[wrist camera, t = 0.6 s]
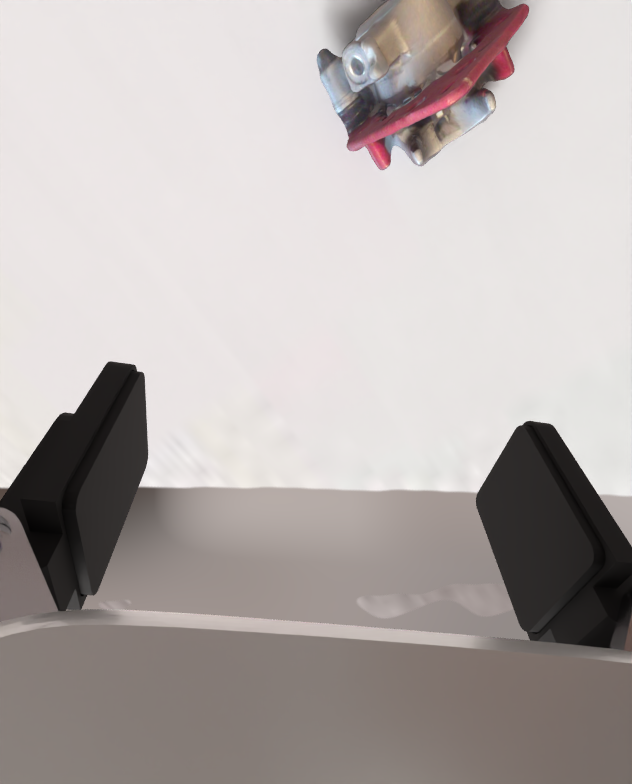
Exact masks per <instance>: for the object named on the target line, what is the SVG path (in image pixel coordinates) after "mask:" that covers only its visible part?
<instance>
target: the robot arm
mask: <svg viewBox="0 0 632 784" xmlns="http://www.w3.org/2000/svg"><path fill="white" fill-rule="evenodd" d="M147 460H148V441H147V419H146V398H145V377H144V373H143V372H137V369H136V366H135V365H132V364H125V363H118V362H108V363H107V364H106V365H105V367H104V368H103V370H102V372H101V373H100V375H99V376H98V378H97V379H96V381H95V382H94V384H93V386H92V387H91V389H90V390H89V392H88V393H87V395H86V396H85V398H84V400H83V401H82V403H81V404H80V406H79V407H78V409H77V410H76V412H75V414H72V413H62V414H60V415H59V417H58V418H57V419H56V420H55V422H54V423H53V424H52V426H51V427H50V429H49V430H48V432H47V433H46V435H45V436H44V438H43V439H42V441H41V442H40V444H39V445H38V446H37V448H36V449H35V451H34V452H33V454H32V455H31V457H30V458H29V460H28V461H27V463H26V464H25V465H24V467H23V468H22V470H21V471H20V473H19V474H18V476H17V477H16V479H15V480H14V482H13V483H12V485H11V486H10V487H9V489H8V490H7V492H6V493H5V495H4V496H3V498H2V499H1V501H0V784H632V547H631V545H630V543H629V542H628V540H627V539H626V537H625V536H624V534H623V533H622V531H621V530H620V528H619V526H618V525H617V523H616V522H615V520H614V519H613V517H612V516H611V514H610V512H609V511H608V509H607V508H606V506H605V505H604V503H603V502H602V500H601V499H600V497H599V495H598V494H597V492H596V491H595V489H594V488H593V486H592V485H591V483H590V482H589V480H588V478H587V477H586V475H585V474H584V472H583V471H582V469H581V468H580V466H579V465H578V463H577V461H576V460H575V458H574V457H573V455H572V454H571V452H570V451H569V449H568V447H567V446H566V444H565V443H564V441H563V440H562V438H561V437H560V435H559V434H558V432H557V430H556V429H555V428H554V426H553V425H551V424H547V423H540V422H533V421H527V422H525V423H524V424H523V425H522V426H518V427H517V428H516V429H515V431H514V433H513V434H512V436H511V438H510V440H509V441H508V443H507V445H506V446H505V448H504V450H503V451H502V453H501V455H500V456H499V458H498V460H497V461H496V463H495V465H494V467H493V468H492V470H491V472H490V473H489V475H488V477H487V478H486V480H485V482H484V483H483V485H482V487H481V488H480V490H479V492H478V494H477V497H476V506H477V509H478V512H479V515H480V517H481V520H482V523H483V526H484V528H485V531H486V534H487V536H488V539H489V542H490V545H491V547H492V550H493V553H494V556H495V559H496V561H497V564H498V567H499V569H500V572H501V575H502V577H503V580H504V583H505V586H506V589H507V591H508V594H509V597H510V600H511V602H512V605H513V608H514V611H515V613H516V616H517V619H518V621H519V624H520V626H521V628H522V629H523V630H524V631H527V633H528V636H529V639H530V641H529V640H518V639H506V638H495V637H483V636H472V635H458V634H448V633H436V632H423V631H412V630H399V629H387V628H375V627H374V628H373V627H362V626H349V625H335V624H325V623H312V622H299V621H285V620H272V619H259V618H245V617H233V616H232V617H231V616H219V615H206V614H189V613H171V612H155V611H137V610H93V609H90V610H89V609H85V610H81V609H82V606H83V604H84V601H85V599H86V597H87V595H95V594H96V593H97V591H98V588H99V586H100V584H101V581H102V579H103V576H104V574H105V571H106V568H107V566H108V563H109V561H110V558H111V556H112V553H113V550H114V548H115V545H116V543H117V540H118V537H119V535H120V532H121V530H122V527H123V525H124V522H125V520H126V517H127V514H128V512H129V509H130V507H131V504H132V502H133V499H134V496H135V494H136V491H137V489H138V486H139V484H140V481H141V479H142V476H143V474H144V471H145V468H146V465H147ZM66 609H68V610H71V611H66Z"/></svg>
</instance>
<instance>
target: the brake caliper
mask: <svg viewBox="0 0 632 784" xmlns="http://www.w3.org/2000/svg"><path fill="white" fill-rule="evenodd" d="M528 13H529V7H528V6H527V5H526V4H521V5H518V6H517V7H514V8H512V9H505V8H503V7H502V6H501V5H500V3H499V1H498V0H388V1H386V2H385V3H384V4H383V5H381V6H380V7H379V8H378V9H377V10H376V11H375V12H374V13H373V14H372V15H371V16H370V17H369V18H368V19H367V20H365V21H364V22H363V23H362V24H361V25H360V27H359V28H358V30H357V33H356V38H355V39H354V40H353V41H352V42H351V43H349V44H348V45H347V46H346V48H345V49H344V51H343V53H342V57H337V56H335V55H334V54H332V53H331V52H330V51H329V50H328V49H322V50H321V51H320V52H319V54H318V55H317V64H318V67H319V71H320V78H321V81H322V83H323V85H324V87H325V89H326V90H327V92H328V94H329V96H330V99H331V101H332V104H333V107H334V109H335V111H336V113H337V114H338V116H339V117H340V118H341V120H342V121H343V123H344V125H345V127H346V129H347V132H348V136H349V139H348V143H347V148H348V150H350V151H357V150H359V149H361V148H362V147H364V146H365V147H366V148H367V149H368V151H369V153H370V155H371V157H372V159H373V160H374V162H375V164H376V165H377V167H378V168H379V169H380V170H385V169H386V168H388V166H389V165H390V162H391V150H392V147H393V146H394V145H396V146H399V147H400V148H402V149H403V150H404V151H405V152H406V154H407V155H408V156H409V158H410V159H411V160H412V162H413V163H414V164H416V165H418V166H423V165H424V164H426V163H427V162H428V161H429V160H430V159H431V158H433V157H434V156H436V155H437V154H438V153H439V152H440V151H441V149H442V148H443V147H444V146H446V145H447V144H449V143H450V142H452V141H454V140H455V139H457V138H458V137H460V136H462V135H464V134H465V133H467V132H468V131H470V130H471V129H473V128H474V127H475V126H477V125H478V124H480V123H482V122H484V121H485V120H486V119H487V118H488V117H489V115H490V114H492V113H493V112H494V110H495V108H496V101H495V97H494V95H493V93H492V92H491V91H489V90H488V89H486V88H483V89H482V86H483V85H484V84H485V83H486V82H488V81H498V80H504V79H506V78H508V77H509V76H511V75H512V74H513V73H514V65H513V62H512V60H511V57H510V55H509V52H508V50H507V47H506V46H507V44H508V41H509V40H510V39H511V37H512V36H513V35H514V34H515V32H516V31H517V30H518V29H519V27H520V26H521V25H522V23H523V22H524V20H525V19H526V17H527V16H528Z"/></svg>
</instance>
